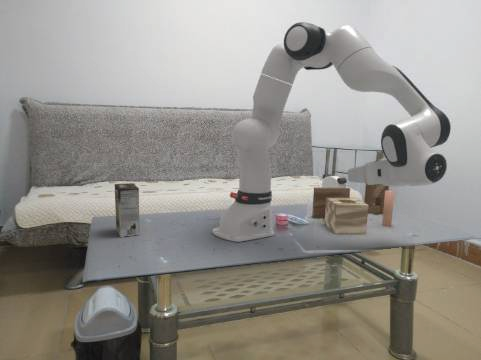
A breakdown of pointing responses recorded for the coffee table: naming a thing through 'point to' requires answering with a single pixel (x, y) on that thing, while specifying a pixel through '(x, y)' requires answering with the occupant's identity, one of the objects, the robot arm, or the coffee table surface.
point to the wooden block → (379, 195)
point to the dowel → (388, 208)
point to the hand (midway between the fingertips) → (365, 173)
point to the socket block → (346, 215)
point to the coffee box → (127, 209)
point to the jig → (321, 196)
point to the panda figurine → (333, 181)
